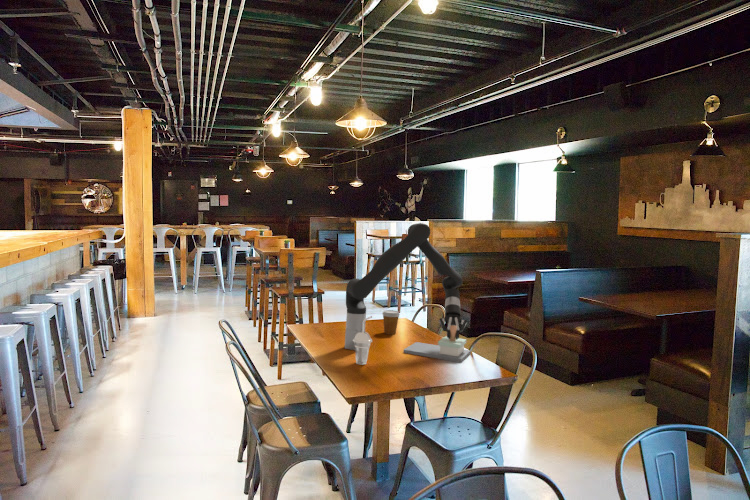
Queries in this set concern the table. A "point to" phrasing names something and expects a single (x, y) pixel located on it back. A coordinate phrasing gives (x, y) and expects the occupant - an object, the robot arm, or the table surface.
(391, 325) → the disposable coffee cup
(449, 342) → the mint lid
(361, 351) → the cup with straw
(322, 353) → the table surface
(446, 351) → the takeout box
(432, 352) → the slate board
